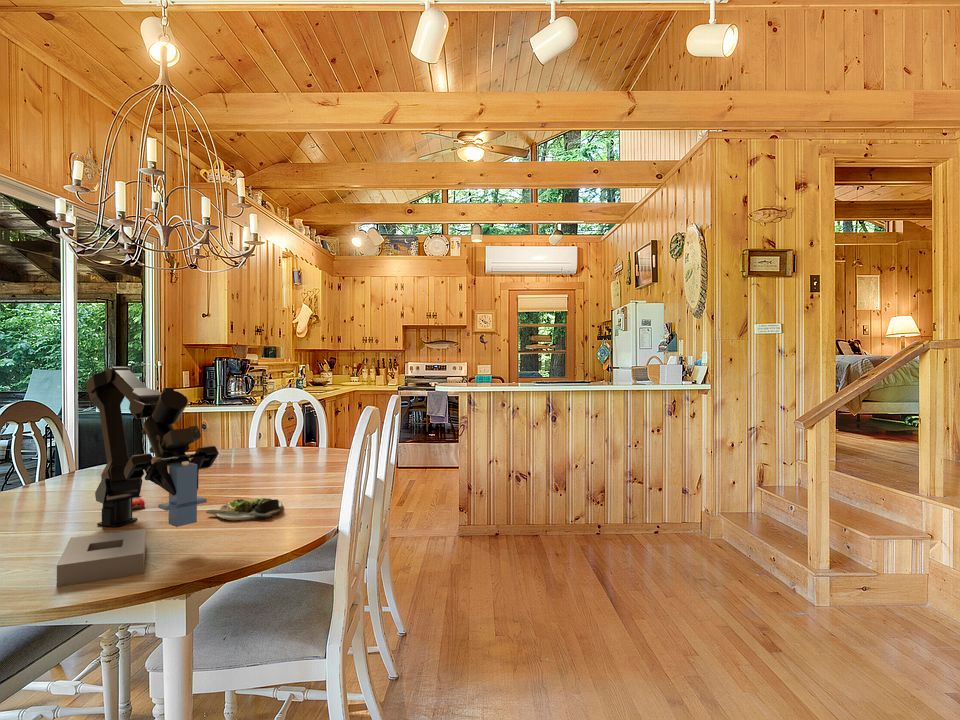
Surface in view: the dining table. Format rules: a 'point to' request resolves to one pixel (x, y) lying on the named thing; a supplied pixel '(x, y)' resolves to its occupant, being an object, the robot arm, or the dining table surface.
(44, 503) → the dining table surface
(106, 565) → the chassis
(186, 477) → the servo
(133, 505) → the race car
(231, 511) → the salad plate
